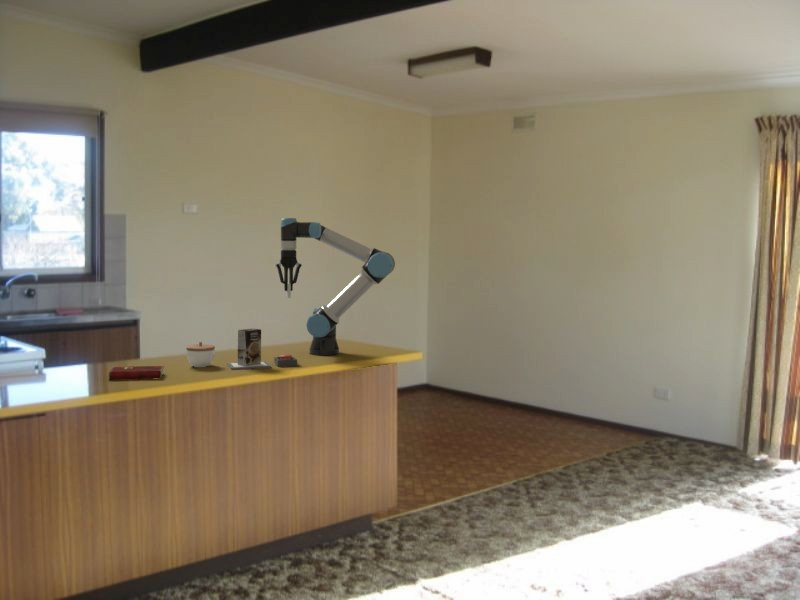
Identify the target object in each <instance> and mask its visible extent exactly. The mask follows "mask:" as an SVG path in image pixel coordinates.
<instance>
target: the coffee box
mask: <svg viewBox="0 0 800 600" xmlns="http://www.w3.org/2000/svg"><path fill="white" fill-rule="evenodd" d="M261 362H262V329H259V328H246V329H244V328H243V329H238V330H237V363H238V365H243V366H250V365H257V364H261Z"/></svg>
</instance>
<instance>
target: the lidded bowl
mask: <svg viewBox="0 0 800 600" xmlns="http://www.w3.org/2000/svg"><path fill="white" fill-rule="evenodd" d="M198 342H199V343H198V344H190V345H187V346H186V347H185V348H186V349H185V350H186V358H187V361H188V362H189V364H190V365H191V366H192V367H193V366H194V367H193V368H207V367H206V366H208V367H210V365H211V364H212V362H213V361H214V358H215V348H216V346H215V345H212V344H205V343H203V342H202V341H198Z"/></svg>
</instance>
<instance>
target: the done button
mask: <svg viewBox="0 0 800 600" xmlns="http://www.w3.org/2000/svg"><path fill="white" fill-rule="evenodd" d="M279 357H280V360H290V359H291V357H293V355H292V354H279Z"/></svg>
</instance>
